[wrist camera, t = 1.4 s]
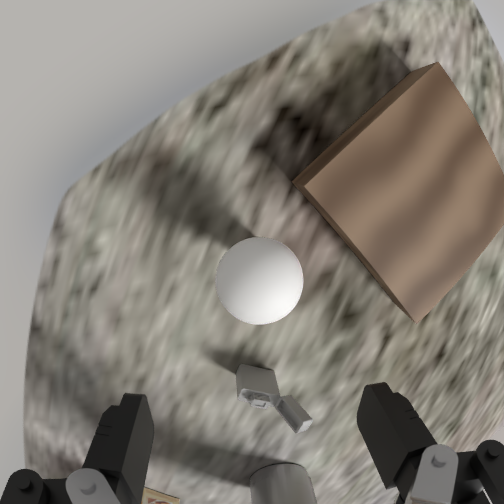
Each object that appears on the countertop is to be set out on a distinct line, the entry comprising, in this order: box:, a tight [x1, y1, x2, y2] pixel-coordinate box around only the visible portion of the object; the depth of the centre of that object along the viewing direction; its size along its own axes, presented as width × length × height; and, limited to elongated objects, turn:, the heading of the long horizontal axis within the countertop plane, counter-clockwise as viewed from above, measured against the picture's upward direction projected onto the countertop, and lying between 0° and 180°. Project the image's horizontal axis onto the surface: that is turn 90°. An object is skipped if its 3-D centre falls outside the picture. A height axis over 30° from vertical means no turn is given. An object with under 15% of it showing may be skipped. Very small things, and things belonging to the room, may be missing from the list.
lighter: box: [236, 364, 312, 433], centre depth 30 cm, size 7×2×8 cm, turn 71°
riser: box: [292, 62, 504, 324], centre depth 27 cm, size 18×18×5 cm
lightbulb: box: [215, 237, 303, 324], centre depth 25 cm, size 6×6×11 cm
